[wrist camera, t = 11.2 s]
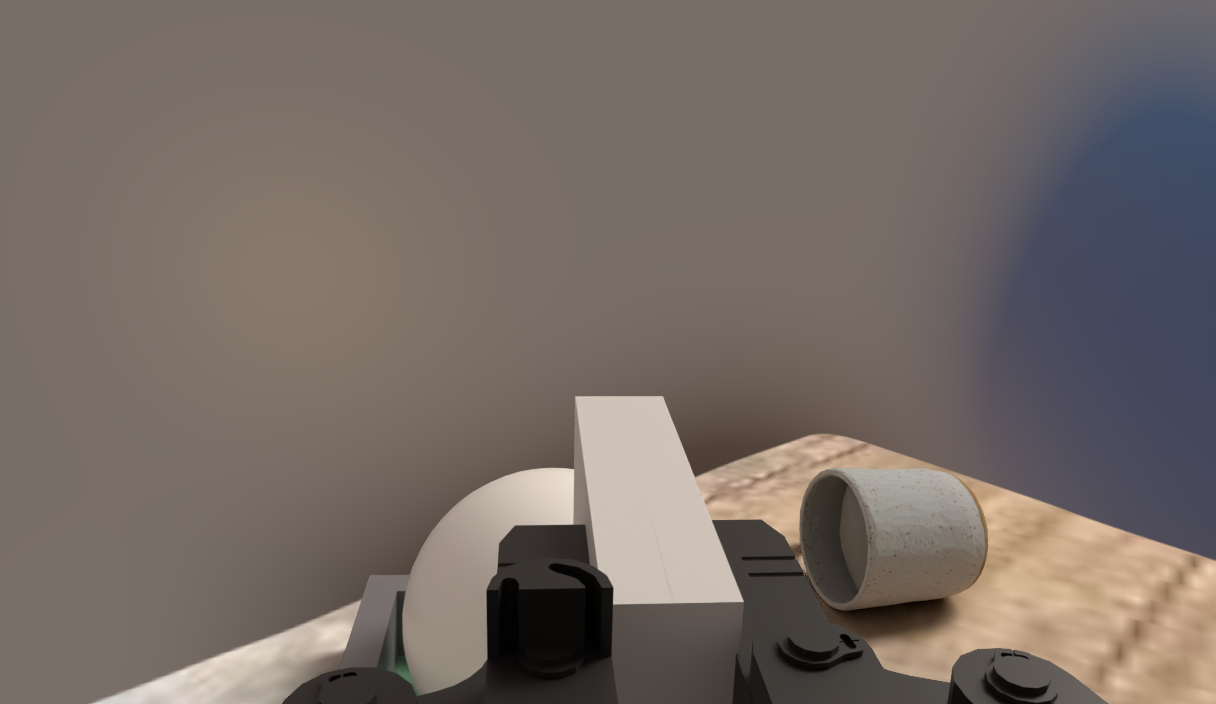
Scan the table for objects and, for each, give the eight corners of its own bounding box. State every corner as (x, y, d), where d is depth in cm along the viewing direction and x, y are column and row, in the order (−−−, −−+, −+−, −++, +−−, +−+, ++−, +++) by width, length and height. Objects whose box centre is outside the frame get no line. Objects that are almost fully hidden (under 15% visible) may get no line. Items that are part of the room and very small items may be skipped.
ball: (747, 679, 31) (700, 812, 40) (693, 404, 40) (663, 562, 48) (373, 701, 30) (407, 832, 38) (398, 412, 38) (422, 573, 47)
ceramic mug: (989, 618, 52) (1009, 487, 50) (859, 638, 50) (874, 502, 48) (880, 535, 62) (893, 423, 60) (766, 548, 59) (776, 432, 57)
